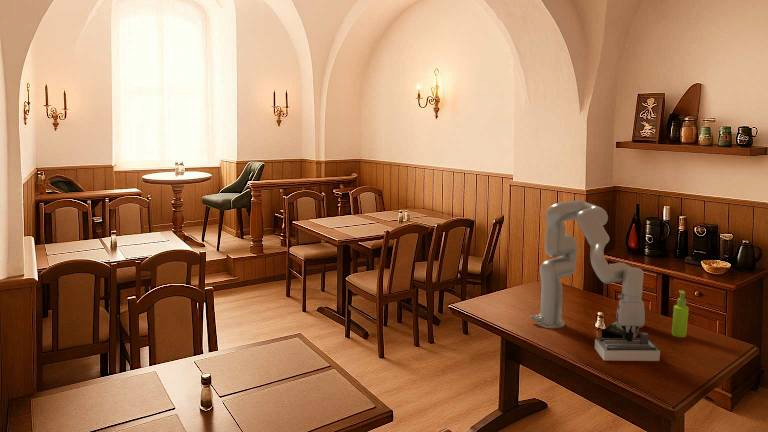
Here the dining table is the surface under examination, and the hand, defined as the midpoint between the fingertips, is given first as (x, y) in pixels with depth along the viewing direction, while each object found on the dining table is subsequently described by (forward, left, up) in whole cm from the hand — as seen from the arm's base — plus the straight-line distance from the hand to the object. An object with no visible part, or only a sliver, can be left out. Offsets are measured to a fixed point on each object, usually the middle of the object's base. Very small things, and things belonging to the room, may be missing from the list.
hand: (628, 340), depth 238 cm
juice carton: (+3, +17, -7) cm, 19 cm away
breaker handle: (+6, 0, -2) cm, 7 cm away
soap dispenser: (+30, +22, -6) cm, 38 cm away
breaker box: (-1, 0, -6) cm, 6 cm away
